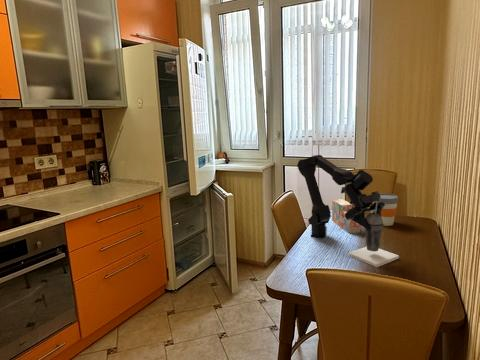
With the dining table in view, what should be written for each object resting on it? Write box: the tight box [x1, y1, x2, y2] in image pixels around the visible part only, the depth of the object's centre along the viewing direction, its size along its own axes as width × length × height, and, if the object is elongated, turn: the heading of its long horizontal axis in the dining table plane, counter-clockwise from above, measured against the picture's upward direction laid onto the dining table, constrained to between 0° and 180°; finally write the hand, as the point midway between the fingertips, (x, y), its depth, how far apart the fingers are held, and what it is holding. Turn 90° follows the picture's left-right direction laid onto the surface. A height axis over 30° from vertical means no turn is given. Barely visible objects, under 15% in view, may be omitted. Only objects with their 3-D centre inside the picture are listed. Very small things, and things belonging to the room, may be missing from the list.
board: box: [347, 246, 400, 268], centre depth 144 cm, size 14×14×1 cm
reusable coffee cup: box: [373, 192, 399, 227], centre depth 184 cm, size 13×13×15 cm
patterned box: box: [331, 198, 362, 234], centre depth 182 cm, size 21×6×12 cm, turn 8°
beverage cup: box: [365, 202, 384, 251], centre depth 141 cm, size 7×7×20 cm
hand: (376, 228), depth 140 cm, fingers closed on beverage cup, 7 cm apart
